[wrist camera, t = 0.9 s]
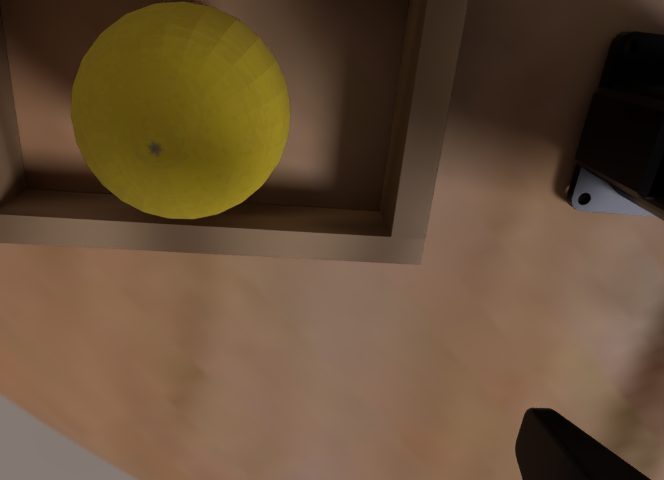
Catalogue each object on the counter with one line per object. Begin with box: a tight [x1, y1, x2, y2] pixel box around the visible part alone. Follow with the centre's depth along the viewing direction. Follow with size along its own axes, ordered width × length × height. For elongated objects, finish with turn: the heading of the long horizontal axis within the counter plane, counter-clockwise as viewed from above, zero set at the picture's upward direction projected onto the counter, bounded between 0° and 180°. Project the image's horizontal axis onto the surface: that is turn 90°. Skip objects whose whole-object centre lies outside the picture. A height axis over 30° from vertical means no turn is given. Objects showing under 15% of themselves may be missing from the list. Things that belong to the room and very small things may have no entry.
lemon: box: [71, 1, 290, 219], centre depth 14 cm, size 6×6×8 cm
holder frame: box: [0, 0, 468, 265], centre depth 17 cm, size 15×10×2 cm, turn 84°
